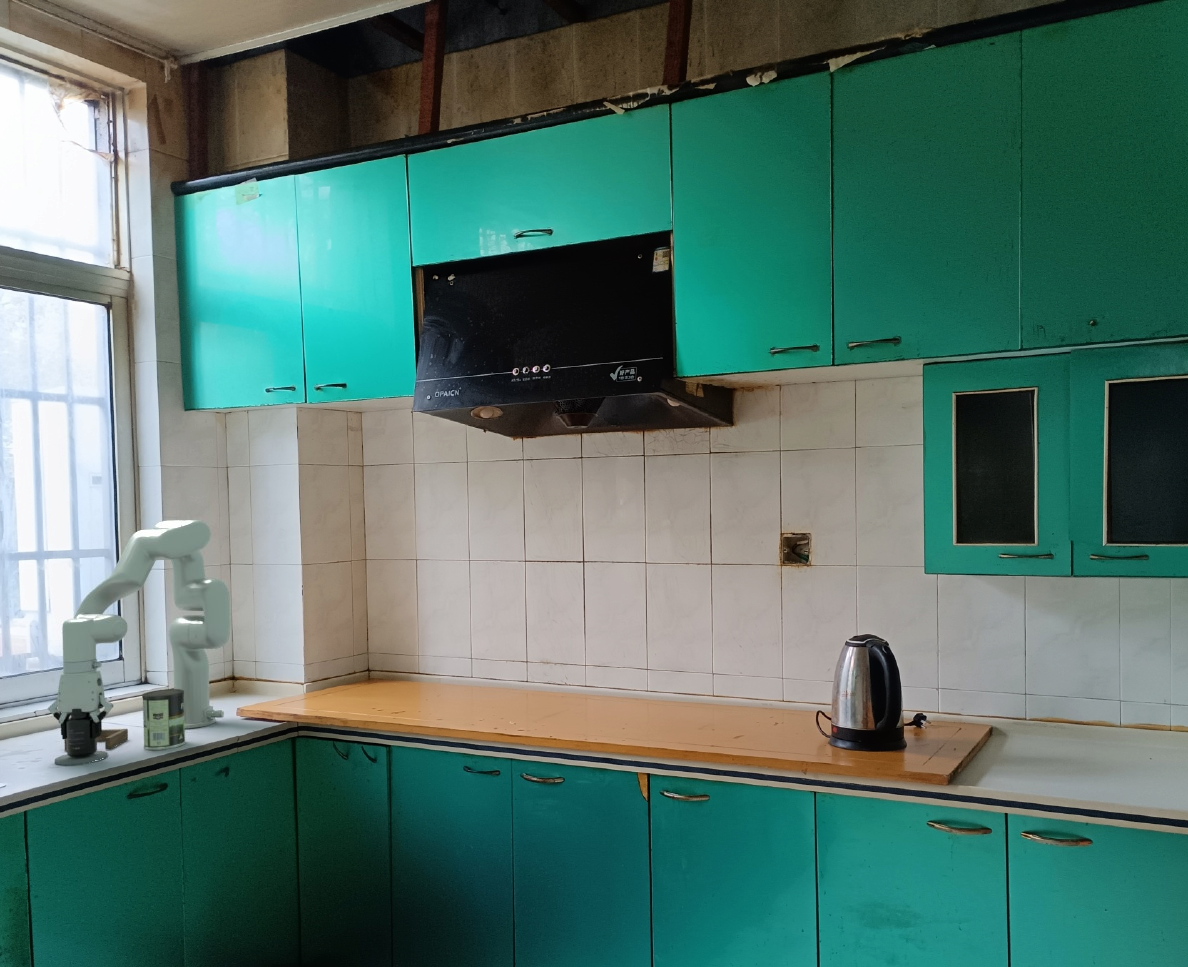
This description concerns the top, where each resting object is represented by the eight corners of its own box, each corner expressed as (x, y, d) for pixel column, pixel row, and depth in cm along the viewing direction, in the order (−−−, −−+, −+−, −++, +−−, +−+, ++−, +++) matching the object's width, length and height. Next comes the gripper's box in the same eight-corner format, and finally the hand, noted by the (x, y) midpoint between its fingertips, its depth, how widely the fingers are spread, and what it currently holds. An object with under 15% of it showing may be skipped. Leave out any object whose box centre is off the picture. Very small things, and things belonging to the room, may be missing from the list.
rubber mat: (116, 752, 260) (116, 750, 260) (93, 764, 248) (93, 762, 248) (69, 753, 259) (69, 751, 259) (45, 766, 247) (45, 763, 247)
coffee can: (181, 738, 273) (180, 687, 273) (188, 746, 264) (187, 692, 264) (140, 744, 267) (139, 692, 268) (146, 752, 259) (145, 697, 259)
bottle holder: (127, 739, 273) (127, 728, 273) (109, 749, 263) (109, 738, 263) (84, 741, 273) (84, 730, 273) (64, 751, 263) (64, 739, 263)
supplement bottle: (73, 751, 257) (72, 704, 257) (101, 749, 257) (100, 703, 257) (61, 758, 250) (60, 710, 250) (90, 756, 250) (89, 708, 251)
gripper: (121, 663, 258) (122, 733, 258) (53, 665, 257) (54, 735, 257) (107, 668, 250) (109, 740, 250) (37, 671, 250) (39, 742, 250)
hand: (81, 737), depth 254 cm, fingers closed on supplement bottle, 6 cm apart
